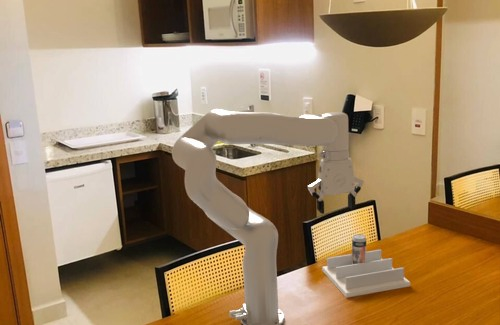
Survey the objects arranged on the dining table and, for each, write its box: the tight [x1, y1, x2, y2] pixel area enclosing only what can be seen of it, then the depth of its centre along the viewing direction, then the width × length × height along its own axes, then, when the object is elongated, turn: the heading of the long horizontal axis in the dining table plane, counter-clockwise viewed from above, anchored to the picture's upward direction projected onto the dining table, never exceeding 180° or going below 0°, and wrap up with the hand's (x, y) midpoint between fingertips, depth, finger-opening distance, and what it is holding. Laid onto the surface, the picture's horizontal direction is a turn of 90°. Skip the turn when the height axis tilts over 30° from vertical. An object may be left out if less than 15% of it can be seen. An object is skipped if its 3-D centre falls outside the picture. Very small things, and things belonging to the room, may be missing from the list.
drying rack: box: [321, 249, 411, 299], centre depth 173 cm, size 22×20×6 cm
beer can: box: [351, 233, 367, 264], centre depth 175 cm, size 5×5×12 cm
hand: (336, 210), depth 156 cm, fingers open, 9 cm apart
